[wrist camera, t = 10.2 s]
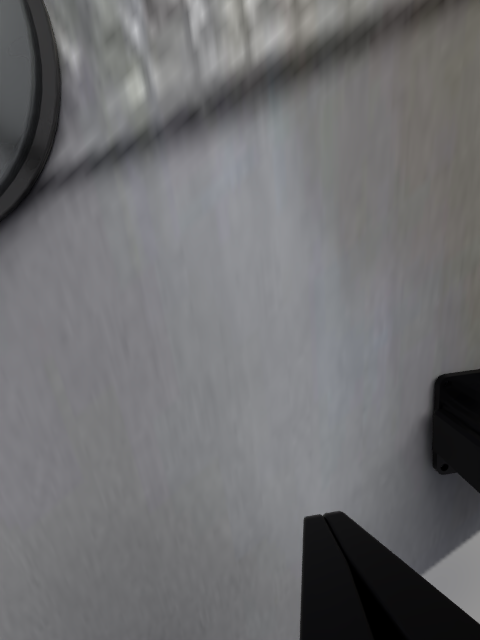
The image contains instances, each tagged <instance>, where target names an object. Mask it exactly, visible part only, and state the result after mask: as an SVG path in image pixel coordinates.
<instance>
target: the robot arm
mask: <svg viewBox="0 0 480 640" xmlns="http://www.w3.org/2000/svg"><path fill="white" fill-rule="evenodd" d="M446 381H448V382H447V384H446V385H445V386H444V383H445V382H446ZM432 449H433V468H434V469H435V470H436V471H437V472H438V473H439V474H450V473H458V474H460V475H461V476H462V477H463V478H464V479H465V480H466V481H467V482H468V483H469V484H470V485H471V486H473V487H474V488H475V489H476V490H477V491H478V492H479V493H480V369H478V370H470V371H463V372H456V373H449V374H443V375H440V376H439V377H438V378H437V380H436V383H435V411H434V414H433V445H432ZM443 464H444V465H443ZM442 465H443V466H442ZM441 466H442V467H441ZM300 640H480V624H479V623H478V622H476V621H475V620H474V619H473V618H472V617H470V616H469V615H468V614H467V613H465V612H464V611H463V610H462V609H460V608H459V607H458V606H457V605H456V604H454V603H453V602H452V601H451V600H450V599H448V598H447V597H446V596H445V595H444V594H442V593H441V592H440V591H439V590H437V589H436V588H435V587H434V586H433V585H431V584H430V583H429V582H428V581H426V580H425V579H424V578H423V577H422V576H420V575H419V574H418V573H417V572H415V571H414V570H413V569H412V568H411V567H409V566H408V565H407V564H406V563H404V562H403V561H402V560H401V559H400V558H398V557H397V556H396V555H395V554H393V553H392V552H391V551H390V550H389V549H387V548H386V547H385V546H384V545H383V544H381V543H380V542H379V541H378V540H376V539H375V538H374V537H373V536H372V535H370V534H369V533H368V532H367V531H365V530H364V529H363V528H362V527H361V526H359V525H358V524H357V523H356V522H354V521H353V520H352V519H351V518H350V517H348V516H347V515H346V514H345V513H343V512H341V511H336V512H330V513H325V514H324V515H323V516H322V515H320V514H319V515H313V516H307V517H305V518H304V525H303V556H302V587H301V618H300Z"/></svg>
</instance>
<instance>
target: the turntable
mask: <svg viewBox="0 0 480 640" xmlns="http://www.w3.org/2000/svg"><path fill="white" fill-rule="evenodd" d="M59 107H60V68H59V61H58V53H57V46H56V41H55V37H54V33H53V29H52V26H51V22H50V18H49V15H48V12H47V9H46V7H45V4H44V1H43V0H0V221H2V220H3V219H4V218H5V217H6V216H7V215H8V214H9V213H10V212H11V211H13V210H14V209H15V208H16V207H17V206H18V205H19V203H20V202H21V201H22V200H23V199H24V197H25V196H26V195H27V194H28V192H29V191H30V190H31V189H32V187H33V185H34V184H35V182H36V180H37V178H38V177H39V175H40V173H41V172H42V170H43V168H44V165H45V163H46V160H47V158H48V156H49V153H50V151H51V148H52V144H53V140H54V136H55V133H56V129H57V125H58V116H59Z"/></svg>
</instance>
